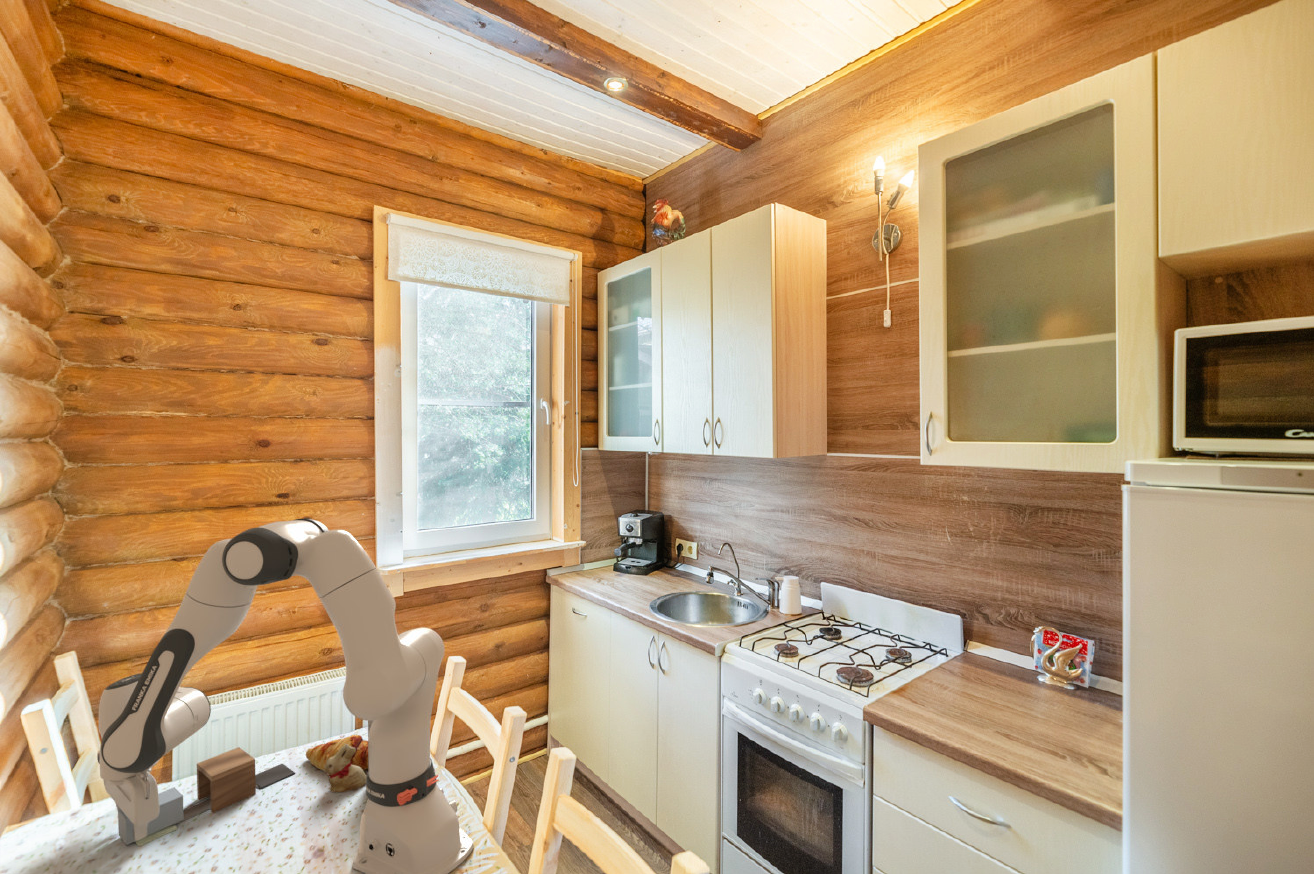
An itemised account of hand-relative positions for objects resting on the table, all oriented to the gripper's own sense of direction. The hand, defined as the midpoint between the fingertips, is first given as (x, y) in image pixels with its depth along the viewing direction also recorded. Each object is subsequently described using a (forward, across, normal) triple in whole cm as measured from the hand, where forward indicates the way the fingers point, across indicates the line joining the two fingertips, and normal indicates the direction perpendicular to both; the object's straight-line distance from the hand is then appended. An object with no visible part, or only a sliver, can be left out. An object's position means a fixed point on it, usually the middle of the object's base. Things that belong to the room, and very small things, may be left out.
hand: (132, 828), depth 118 cm
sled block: (+2, 0, -3) cm, 4 cm away
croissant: (+2, -9, -38) cm, 39 cm away
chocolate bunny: (+2, -18, -33) cm, 38 cm away
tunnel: (+2, 0, -15) cm, 15 cm away
